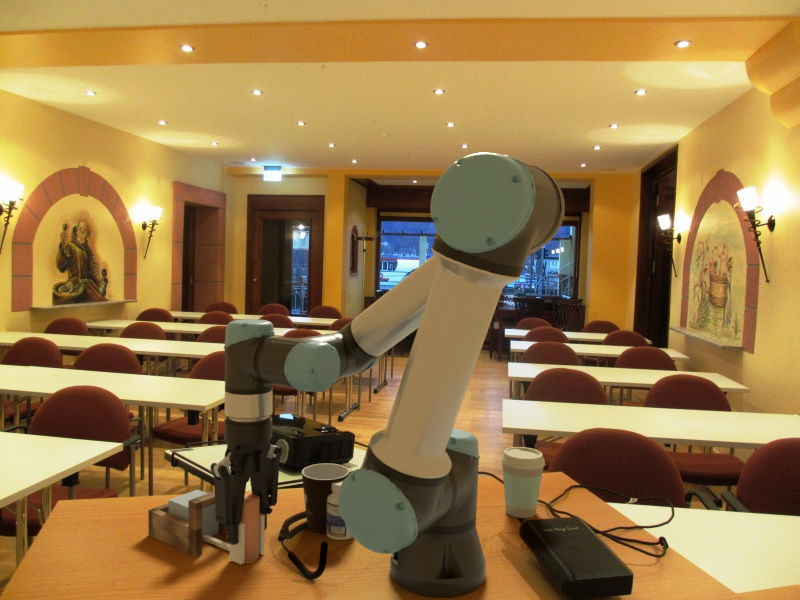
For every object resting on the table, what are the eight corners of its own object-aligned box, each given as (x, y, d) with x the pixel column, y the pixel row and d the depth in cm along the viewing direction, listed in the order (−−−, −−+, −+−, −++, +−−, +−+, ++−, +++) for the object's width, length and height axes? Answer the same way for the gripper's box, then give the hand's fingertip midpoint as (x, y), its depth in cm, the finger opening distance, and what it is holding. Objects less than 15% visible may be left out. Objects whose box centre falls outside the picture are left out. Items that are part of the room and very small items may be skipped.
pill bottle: (346, 525, 117) (347, 473, 116) (362, 536, 113) (363, 482, 112) (320, 532, 114) (321, 479, 113) (335, 544, 109) (336, 489, 109)
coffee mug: (340, 537, 111) (341, 481, 110) (294, 532, 113) (294, 477, 112) (357, 511, 123) (358, 460, 122) (315, 506, 124) (316, 456, 123)
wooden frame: (242, 535, 112) (243, 485, 111) (196, 556, 104) (196, 503, 103) (195, 516, 119) (195, 469, 118) (148, 535, 111) (148, 485, 110)
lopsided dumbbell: (268, 554, 105) (269, 495, 104) (241, 568, 100) (241, 507, 100) (197, 524, 116) (197, 470, 115) (168, 535, 111) (168, 480, 110)
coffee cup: (550, 519, 122) (553, 458, 121) (509, 523, 120) (512, 461, 119) (531, 502, 130) (533, 445, 129) (492, 505, 128) (494, 447, 127)
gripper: (270, 402, 111) (268, 531, 113) (190, 422, 97) (189, 569, 99) (301, 409, 107) (299, 544, 109) (222, 431, 93) (221, 584, 95)
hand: (247, 555), depth 104 cm, fingers closed on lopsided dumbbell, 4 cm apart
